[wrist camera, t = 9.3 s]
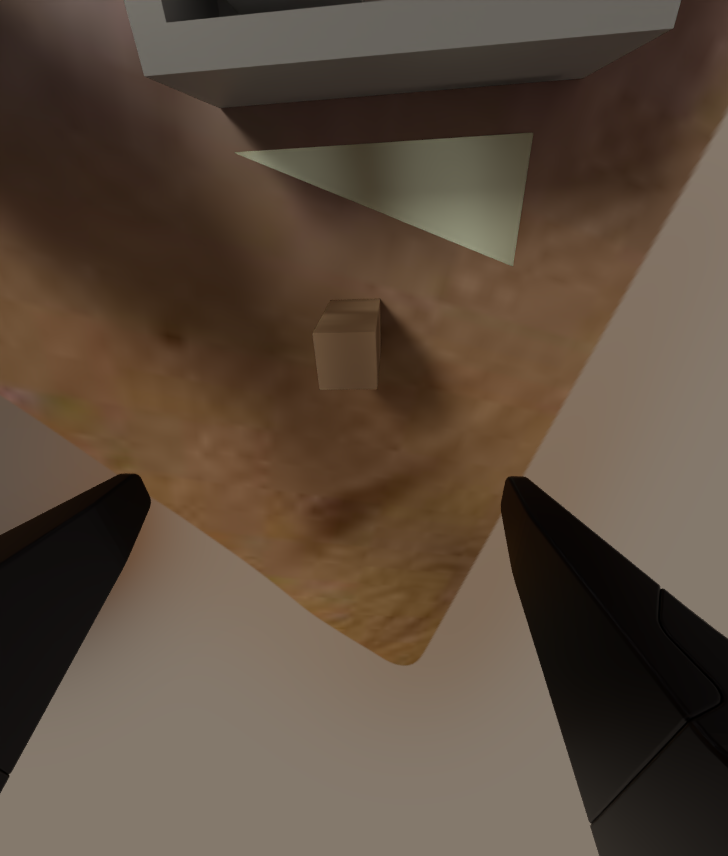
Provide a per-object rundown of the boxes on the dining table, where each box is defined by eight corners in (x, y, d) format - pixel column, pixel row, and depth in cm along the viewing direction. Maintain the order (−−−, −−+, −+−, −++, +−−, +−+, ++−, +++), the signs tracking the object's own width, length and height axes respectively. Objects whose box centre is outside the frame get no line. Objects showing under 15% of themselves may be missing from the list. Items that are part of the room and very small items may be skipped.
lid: (250, 436, 25) (217, 495, 20) (179, 157, 17) (96, 148, 12) (484, 436, 24) (505, 499, 19) (528, 134, 16) (586, 114, 11)
